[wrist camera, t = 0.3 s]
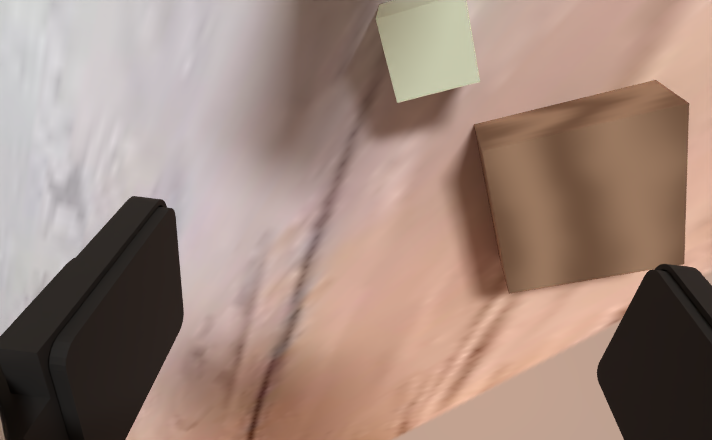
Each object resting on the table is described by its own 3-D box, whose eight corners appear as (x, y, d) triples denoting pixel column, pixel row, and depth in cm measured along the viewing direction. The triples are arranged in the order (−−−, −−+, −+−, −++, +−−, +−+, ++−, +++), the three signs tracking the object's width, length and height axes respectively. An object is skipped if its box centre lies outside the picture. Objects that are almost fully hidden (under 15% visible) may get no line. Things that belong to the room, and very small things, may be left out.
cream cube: (456, -19, 32) (464, -8, 27) (470, 59, 34) (480, 81, 30) (379, 4, 33) (375, 19, 28) (398, 79, 35) (397, 103, 31)
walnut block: (653, 78, 34) (689, 103, 30) (654, 225, 40) (684, 264, 35) (473, 122, 37) (482, 151, 32) (498, 254, 42) (509, 293, 38)
